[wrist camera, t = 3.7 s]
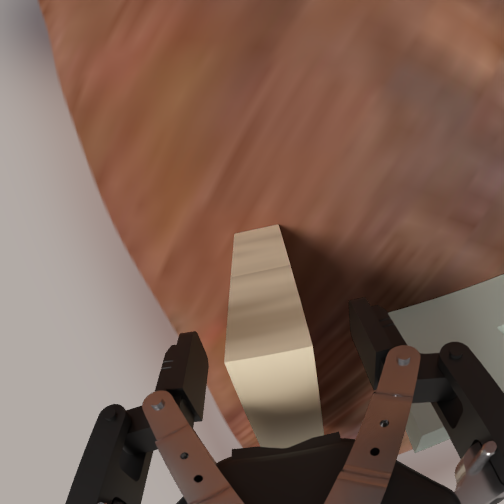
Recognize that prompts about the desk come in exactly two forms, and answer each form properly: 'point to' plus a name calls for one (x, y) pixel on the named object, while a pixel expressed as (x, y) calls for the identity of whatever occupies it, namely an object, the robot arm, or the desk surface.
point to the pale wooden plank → (270, 343)
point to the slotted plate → (453, 330)
